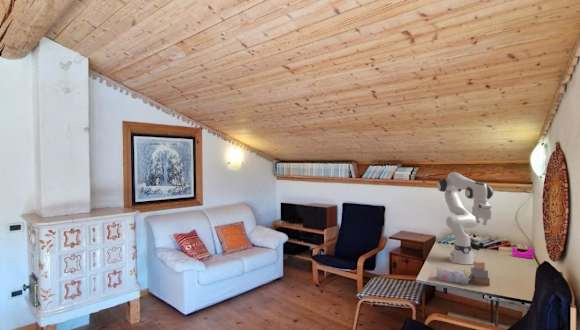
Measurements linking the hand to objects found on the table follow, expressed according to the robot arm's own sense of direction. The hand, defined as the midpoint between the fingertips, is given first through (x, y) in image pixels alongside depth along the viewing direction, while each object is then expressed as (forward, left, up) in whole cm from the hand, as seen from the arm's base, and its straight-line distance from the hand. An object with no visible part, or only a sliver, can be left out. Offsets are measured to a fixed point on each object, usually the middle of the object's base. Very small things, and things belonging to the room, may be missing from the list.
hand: (481, 223), depth 241 cm
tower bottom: (+10, -7, -39) cm, 41 cm away
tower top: (+10, -7, -34) cm, 36 cm away
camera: (-84, +36, -39) cm, 100 cm away
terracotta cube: (+10, -7, -29) cm, 32 cm away
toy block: (-58, +62, -40) cm, 94 cm away
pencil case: (+8, -25, -39) cm, 47 cm away
